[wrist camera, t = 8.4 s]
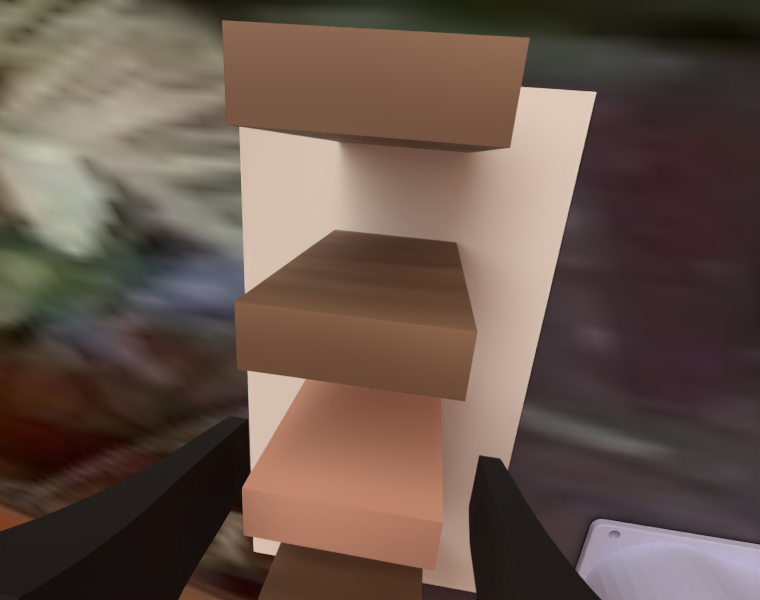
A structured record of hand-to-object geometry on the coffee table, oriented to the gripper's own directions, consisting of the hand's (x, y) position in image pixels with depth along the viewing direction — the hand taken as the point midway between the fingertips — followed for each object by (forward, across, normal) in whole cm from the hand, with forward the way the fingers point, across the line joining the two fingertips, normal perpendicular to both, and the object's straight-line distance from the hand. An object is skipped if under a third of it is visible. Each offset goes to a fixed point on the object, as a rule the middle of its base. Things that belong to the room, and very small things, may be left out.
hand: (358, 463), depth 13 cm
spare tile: (+7, 0, 0) cm, 7 cm away
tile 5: (+6, 0, -10) cm, 12 cm away
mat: (+7, 0, +1) cm, 7 cm away
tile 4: (+6, 0, -5) cm, 8 cm away
